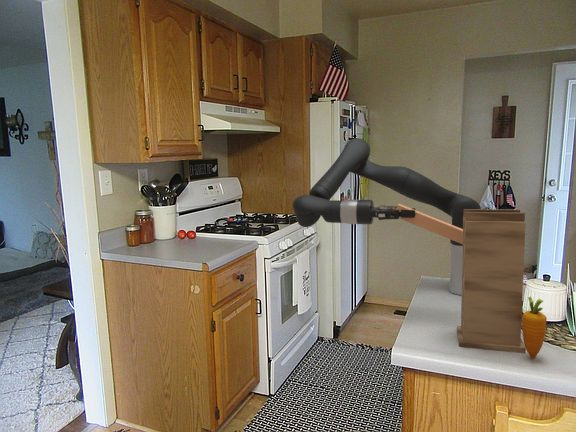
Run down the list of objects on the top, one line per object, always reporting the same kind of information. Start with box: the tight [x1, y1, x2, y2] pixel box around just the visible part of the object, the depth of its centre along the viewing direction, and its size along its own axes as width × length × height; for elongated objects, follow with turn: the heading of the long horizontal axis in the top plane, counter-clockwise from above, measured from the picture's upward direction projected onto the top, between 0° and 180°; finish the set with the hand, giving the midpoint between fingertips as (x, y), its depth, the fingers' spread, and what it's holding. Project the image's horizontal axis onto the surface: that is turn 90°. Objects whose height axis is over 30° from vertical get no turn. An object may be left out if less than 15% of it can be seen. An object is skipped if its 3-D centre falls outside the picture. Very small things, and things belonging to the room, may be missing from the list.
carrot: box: [521, 296, 547, 359], centre depth 100 cm, size 5×5×15 cm
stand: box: [456, 208, 527, 354], centre depth 109 cm, size 11×15×34 cm
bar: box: [394, 203, 463, 244], centre depth 125 cm, size 4×22×4 cm, turn 72°
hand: (415, 212), depth 126 cm, fingers closed on bar, 3 cm apart
